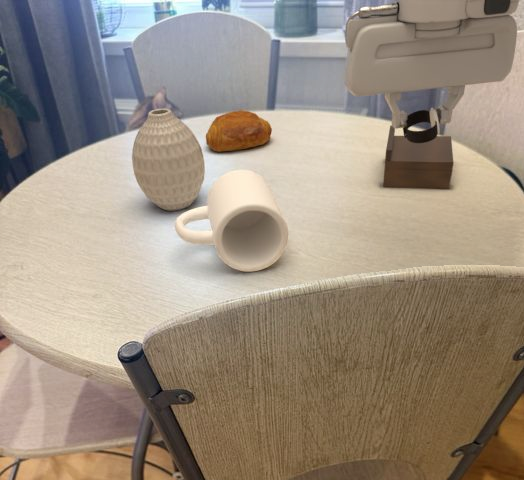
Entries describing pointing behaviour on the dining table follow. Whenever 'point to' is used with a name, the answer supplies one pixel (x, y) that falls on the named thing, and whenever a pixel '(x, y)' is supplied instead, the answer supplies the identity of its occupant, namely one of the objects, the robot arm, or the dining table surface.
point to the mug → (239, 222)
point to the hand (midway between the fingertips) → (420, 124)
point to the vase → (168, 161)
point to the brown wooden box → (418, 162)
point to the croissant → (237, 131)
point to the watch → (425, 134)
